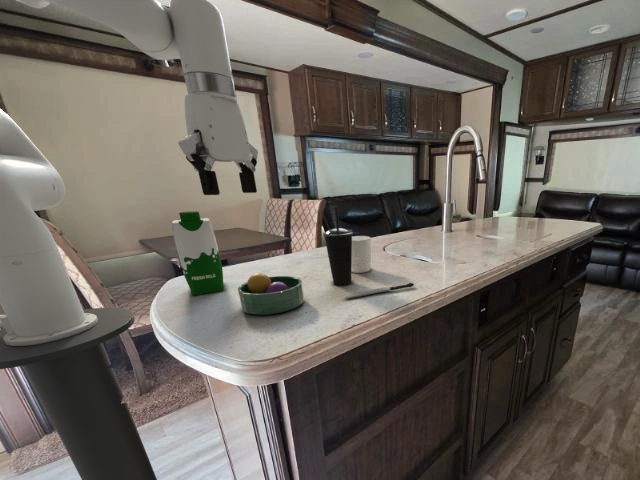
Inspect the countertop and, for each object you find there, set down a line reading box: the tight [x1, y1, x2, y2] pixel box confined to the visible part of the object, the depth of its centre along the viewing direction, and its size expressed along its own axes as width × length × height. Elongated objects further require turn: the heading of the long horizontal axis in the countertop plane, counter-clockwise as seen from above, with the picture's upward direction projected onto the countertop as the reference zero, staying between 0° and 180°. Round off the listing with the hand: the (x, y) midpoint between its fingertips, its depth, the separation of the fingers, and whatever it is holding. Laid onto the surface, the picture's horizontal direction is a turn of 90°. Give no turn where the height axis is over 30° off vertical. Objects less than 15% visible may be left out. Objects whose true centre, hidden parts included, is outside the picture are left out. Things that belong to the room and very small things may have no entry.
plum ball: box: [266, 282, 289, 293], centre depth 71 cm, size 5×5×5 cm
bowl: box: [237, 275, 305, 316], centre depth 71 cm, size 13×13×5 cm
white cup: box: [351, 235, 372, 274], centre depth 97 cm, size 8×8×10 cm
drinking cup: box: [322, 207, 354, 286], centre depth 83 cm, size 8×8×20 cm
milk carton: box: [171, 210, 225, 297], centre depth 80 cm, size 9×9×20 cm
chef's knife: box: [343, 282, 415, 300], centre depth 79 cm, size 19×1×3 cm
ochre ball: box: [246, 272, 271, 294], centre depth 71 cm, size 5×5×5 cm
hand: (232, 193), depth 62 cm, fingers open, 9 cm apart
